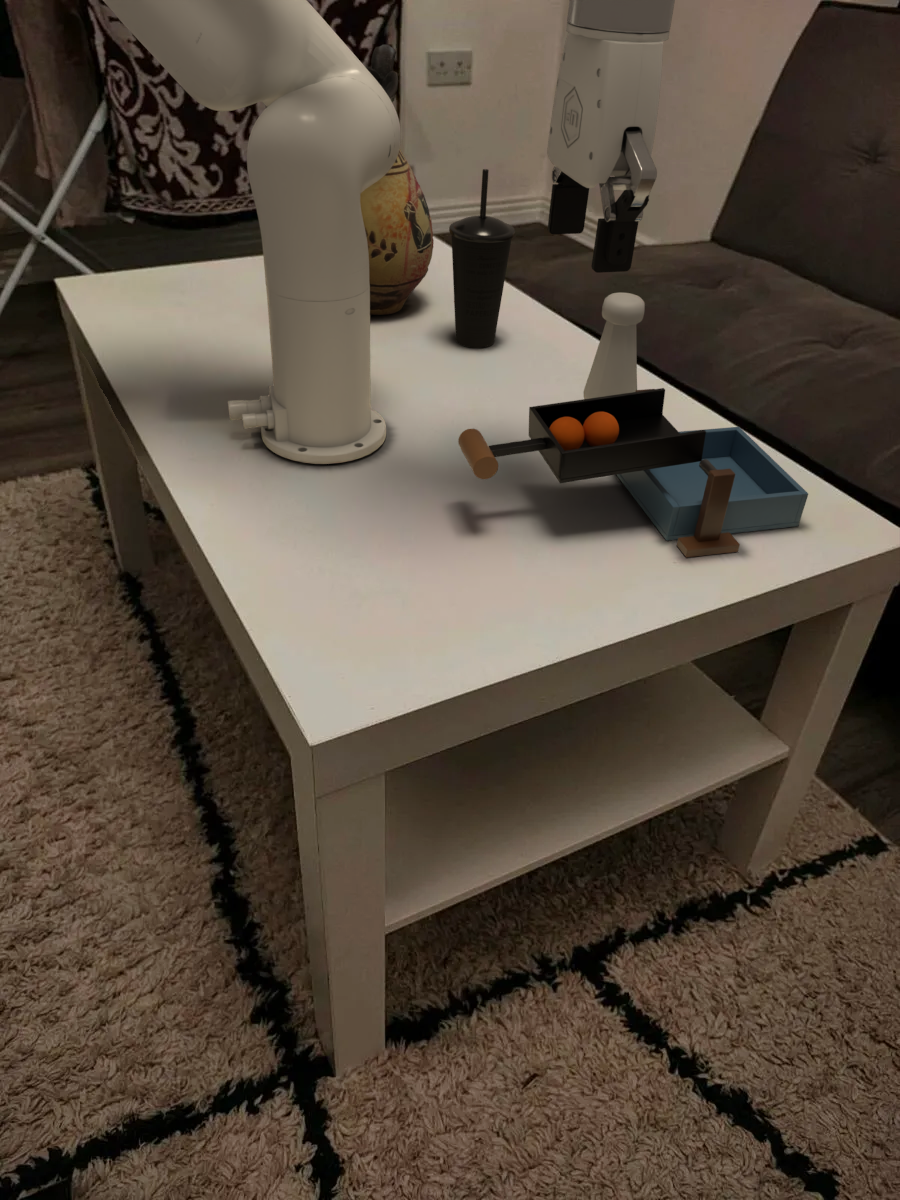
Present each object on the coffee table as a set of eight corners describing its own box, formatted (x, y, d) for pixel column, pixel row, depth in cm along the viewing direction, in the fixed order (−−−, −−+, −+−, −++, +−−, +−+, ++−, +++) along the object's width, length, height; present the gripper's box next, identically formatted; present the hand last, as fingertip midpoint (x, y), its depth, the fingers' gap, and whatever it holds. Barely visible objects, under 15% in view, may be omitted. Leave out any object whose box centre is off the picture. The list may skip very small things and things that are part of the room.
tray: (666, 540, 85) (673, 507, 83) (611, 468, 95) (616, 436, 93) (798, 526, 88) (808, 493, 86) (731, 457, 98) (739, 426, 96)
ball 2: (605, 461, 85) (582, 441, 83) (592, 444, 87) (570, 425, 85) (631, 435, 84) (609, 414, 82) (617, 418, 86) (596, 398, 84)
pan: (479, 496, 80) (478, 466, 78) (453, 446, 87) (452, 417, 85) (701, 461, 84) (706, 431, 82) (660, 416, 90) (663, 387, 89)
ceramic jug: (429, 328, 123) (438, 62, 105) (308, 322, 122) (296, 54, 104) (433, 282, 136) (441, 40, 118) (324, 277, 136) (315, 33, 118)
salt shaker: (632, 429, 102) (652, 309, 94) (578, 422, 103) (594, 303, 95) (634, 405, 107) (654, 290, 99) (583, 399, 108) (599, 284, 100)
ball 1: (561, 466, 84) (549, 438, 82) (549, 449, 86) (538, 421, 84) (594, 449, 84) (583, 420, 82) (581, 432, 86) (570, 404, 84)
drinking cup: (486, 358, 116) (498, 182, 104) (432, 342, 119) (438, 170, 107) (516, 338, 121) (531, 169, 109) (464, 324, 124) (473, 158, 112)
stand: (686, 557, 83) (703, 483, 79) (606, 454, 98) (617, 386, 93) (738, 551, 84) (758, 478, 80) (651, 450, 99) (664, 383, 94)
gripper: (530, -5, 75) (510, 221, 86) (622, 28, 62) (585, 289, 73) (618, -1, 77) (588, 219, 88) (724, 31, 64) (674, 285, 74)
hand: (586, 251), depth 80 cm, fingers open, 9 cm apart
